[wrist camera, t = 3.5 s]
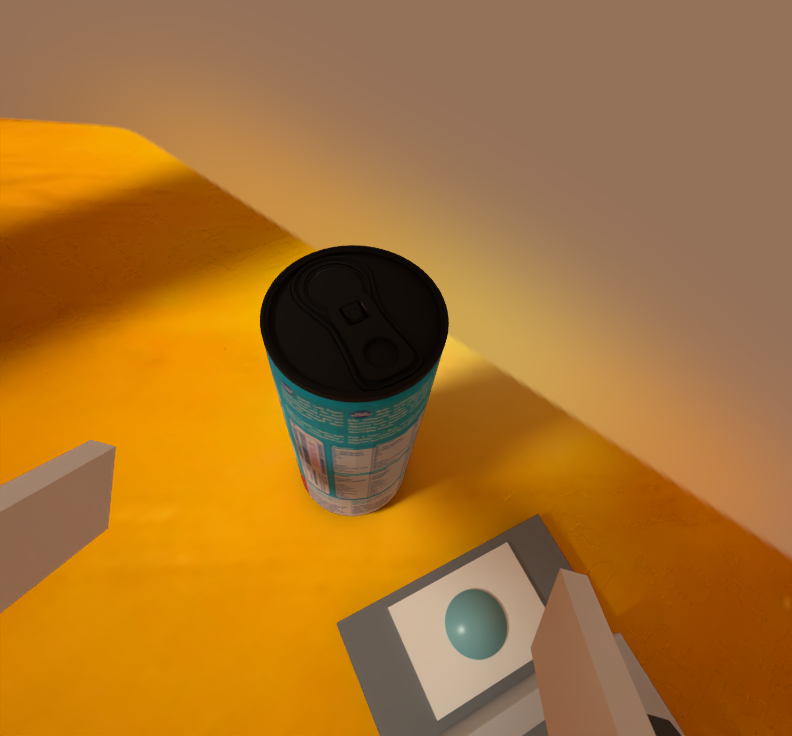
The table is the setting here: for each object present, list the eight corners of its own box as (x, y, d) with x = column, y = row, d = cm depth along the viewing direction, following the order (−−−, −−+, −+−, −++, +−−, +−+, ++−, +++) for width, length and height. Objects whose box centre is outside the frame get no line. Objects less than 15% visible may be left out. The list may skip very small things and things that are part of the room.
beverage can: (383, 409, 30) (409, 229, 17) (418, 499, 27) (480, 366, 14) (290, 437, 29) (240, 264, 16) (317, 535, 26) (285, 423, 13)
